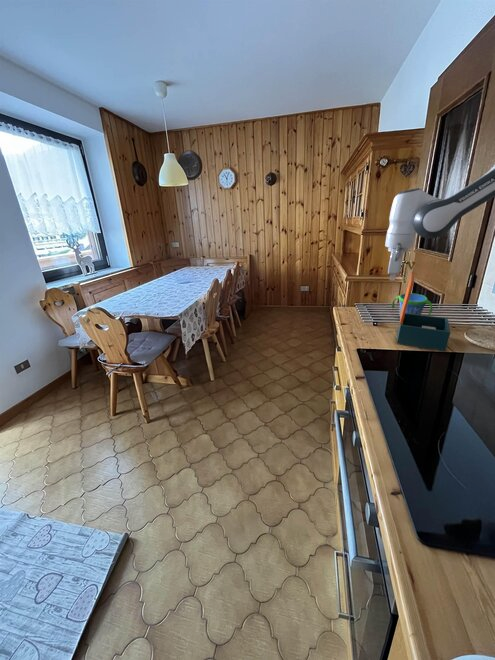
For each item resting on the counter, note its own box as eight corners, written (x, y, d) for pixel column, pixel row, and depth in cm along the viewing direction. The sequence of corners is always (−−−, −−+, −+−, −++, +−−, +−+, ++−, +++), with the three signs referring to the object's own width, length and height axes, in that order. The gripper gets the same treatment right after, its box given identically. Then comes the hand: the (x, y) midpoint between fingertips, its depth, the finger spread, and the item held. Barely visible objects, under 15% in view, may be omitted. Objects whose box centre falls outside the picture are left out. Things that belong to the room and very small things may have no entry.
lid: (414, 272, 105) (411, 271, 105) (414, 282, 95) (411, 281, 96) (403, 311, 113) (400, 311, 113) (402, 324, 103) (399, 324, 104)
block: (432, 337, 108) (435, 327, 106) (433, 342, 105) (436, 332, 103) (419, 335, 110) (422, 325, 108) (419, 340, 107) (422, 330, 105)
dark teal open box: (442, 335, 110) (447, 318, 107) (445, 351, 100) (450, 332, 97) (398, 329, 117) (401, 312, 113) (396, 343, 107) (400, 325, 104)
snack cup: (385, 317, 128) (389, 296, 123) (396, 310, 133) (400, 290, 129) (422, 328, 117) (428, 305, 112) (432, 320, 122) (438, 298, 118)
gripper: (409, 247, 88) (400, 289, 95) (410, 236, 104) (402, 273, 110) (387, 246, 91) (380, 287, 97) (391, 236, 107) (385, 271, 113)
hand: (392, 279), depth 104 cm, fingers closed
